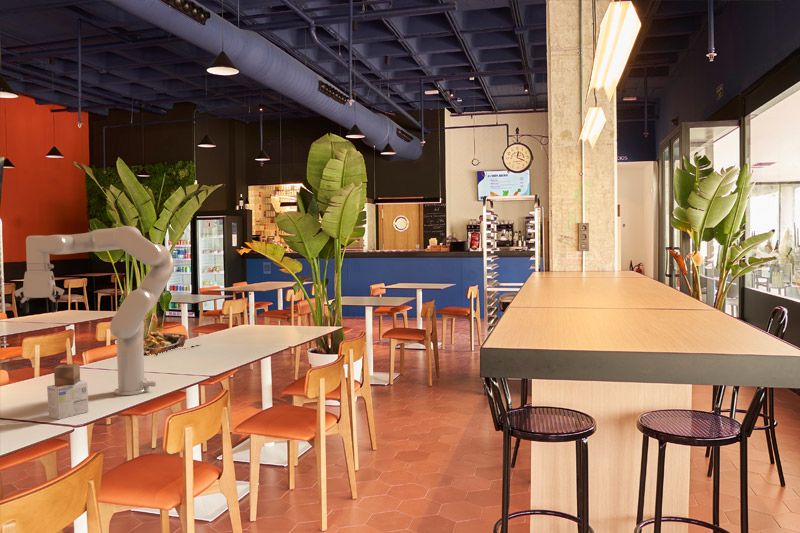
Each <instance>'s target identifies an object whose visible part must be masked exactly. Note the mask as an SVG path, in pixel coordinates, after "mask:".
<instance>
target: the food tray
mask: <svg viewBox="0 0 800 533" xmlns="http://www.w3.org/2000/svg"><path fill="white" fill-rule="evenodd" d="M186 339H187V335H185V334H181V333H173V332H165V331H164V332H163V333H162V331H161V332H159V331H150V332H148V334H147V335H146V336H144V339H143V346H144V355H147V356H149V355H150V354H151V355H154V356H155V355H156V356H157V355H159V354H164V353H168V352H169V351H168V350H171V349H175V348H178V347H183V346H184V344H186ZM185 349H186V350H187V348H184V349H183V350H185ZM175 350H176V349H175ZM165 351H166V352H165ZM171 351H172V350H171ZM161 352H162V353H161ZM163 352H164V353H163ZM158 353H159V354H158Z"/></svg>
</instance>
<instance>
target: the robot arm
mask: <svg viewBox="0 0 800 533" xmlns="http://www.w3.org/2000/svg"><path fill="white" fill-rule="evenodd" d="M25 249H26V250H25V251H26V254H25V255H26V271H25V272H24V275H23V276H24V277H23V283H22V284H23V286H22V287H20V288H19V289H16V290H14V291H13V294H14V295H15V297H16V299H17V300H18V301H20V303H21V304H22V305H21V306H22V308H21V309H22V312H23V314H28V313H30V303H29V302H28V301H29V300H30V299H34V298H35V299H36V298H37V299H38V298H42V299H43V298H49V300H51V302H50V310H51V311H50V313H57V311H58V302H59V300H60V299H61V298H62V297H63V295H64V293H65V290H64V289H63V288H60V287H58V286H56V282H55V276H54V272H53V270H52V269H54V267H55V266H54V264H51V262H50V261H51V260H50V255H69V254H70V255H71V254H79V253H89V252H94V253H97V252H106V251H107V252H108V251H115V250H123V251H124V252H125V253H127V254H128V255H130V256H131V257H133V258H134V259H135V260H137V261H139V262H140V263H142V264H144V265H145V266H148V267H150V269H149V270H148V272H147V273H146V274H145V276H144V278H143V280H142V281H141V282H140V284H139V286H138V287H137V288H136V289H134V290H132V291H130V292H129V293H128V294H127V295H126V297H125V298H124V300H123V301H122V303H121V304H120V306H119V307H118V309H117V311H116V313H115V314H114V316H113V317H112V319H111V321H110V325H109V331H110V334H111V335H112V336H113V337H114V338H116V339H117V341H116V352H117V353H116V360H117V365H116V366H117V388H116V389H114V390H113V393H114V395H117V396H134V395H140V394H144V393H146V392H148V391H149V390H150V387H151V388H153V387H157V382H156V381H154V380H152V381H151V380H150V381H148V380H147V377H145V358H144V356H145V354H144V346H143V339H144V338H145V336H144V335H145V322H144V319H145V317H146V315H147V313H149V312H150V311H152V310H153V308H154V307H155V306H156V303H158V300H159V299H160V296H161V295H162V293H163V292H164V290H165V287H166V286H167V284H168V283H169V281H170V279H171V277H172V275H173V272H174V266H175V265H174V258H173V256H172V255H173V254H171V252H170V250H168V248H167V247H166V246H165V245H163V244H160V243H153V242H152V241H150V240H149V239H148V238H146V237H144V236H143V235H142V233H141V231H140V230H139V229H138V228H137V227H135V226H130V225H129V226H128V225H123V226H119V227H113V228H112V227H110V228H109V227H108V228H100V229H99V228H98V229H93V230H92V231H89V232H85V233H83V232H82V233H75V234H51V235H28V236H27V237H26V238H25ZM56 292H58V293H56ZM21 293H22V294H23V296H22V295H21ZM56 294H57V295H56Z"/></svg>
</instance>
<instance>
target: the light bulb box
mask: <svg viewBox="0 0 800 533" xmlns="http://www.w3.org/2000/svg"><path fill="white" fill-rule="evenodd" d="M46 388H47V392H46V393H47V406H48V409H47V410H48V417H49V418H50V419H54V420H55V419H56V420H62V419H66V418H69V417H70V418H71V417H73V416H78V415H82V414H84V413H85V414H86V413H88V412H89V395H88V394H89V392H88V381H85V380H80V381H79V382H78V383H76V384H75V385H62V386H55V384H51V385H47V386H46Z"/></svg>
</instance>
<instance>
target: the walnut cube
mask: <svg viewBox="0 0 800 533" xmlns="http://www.w3.org/2000/svg"><path fill="white" fill-rule="evenodd" d="M80 367H81V366H80V363H69V364H68V363H66V364H65V363H64V364H60V365H57V366H55V367H54V368H53V372H54V373H53V376H54V385H55V386H62V385H75V384H76V383H78V382H79V381H81V370H80V369H81V368H80Z"/></svg>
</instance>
